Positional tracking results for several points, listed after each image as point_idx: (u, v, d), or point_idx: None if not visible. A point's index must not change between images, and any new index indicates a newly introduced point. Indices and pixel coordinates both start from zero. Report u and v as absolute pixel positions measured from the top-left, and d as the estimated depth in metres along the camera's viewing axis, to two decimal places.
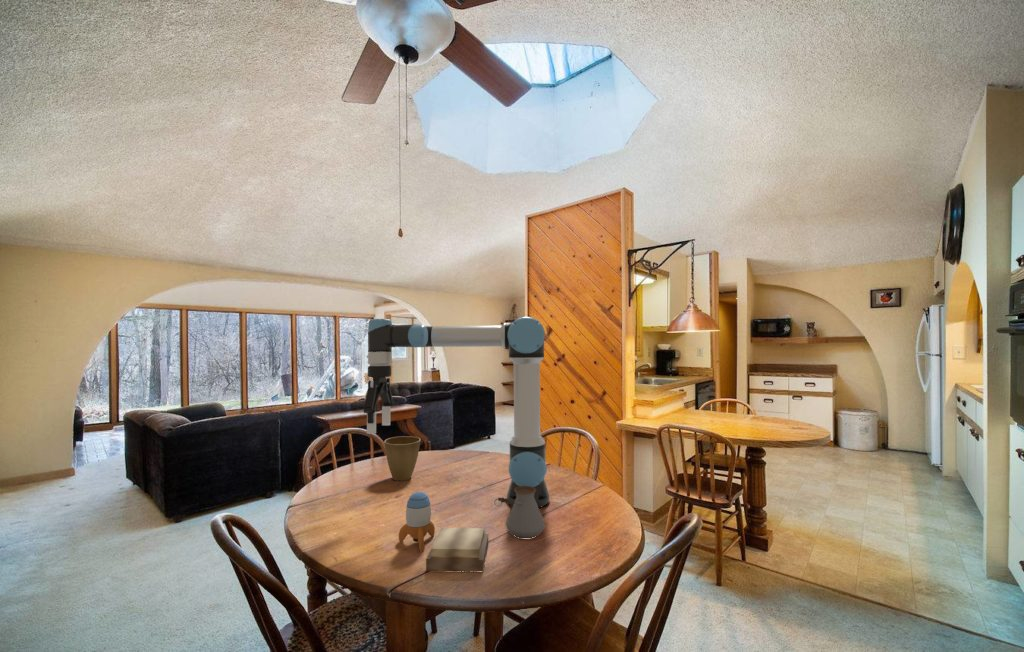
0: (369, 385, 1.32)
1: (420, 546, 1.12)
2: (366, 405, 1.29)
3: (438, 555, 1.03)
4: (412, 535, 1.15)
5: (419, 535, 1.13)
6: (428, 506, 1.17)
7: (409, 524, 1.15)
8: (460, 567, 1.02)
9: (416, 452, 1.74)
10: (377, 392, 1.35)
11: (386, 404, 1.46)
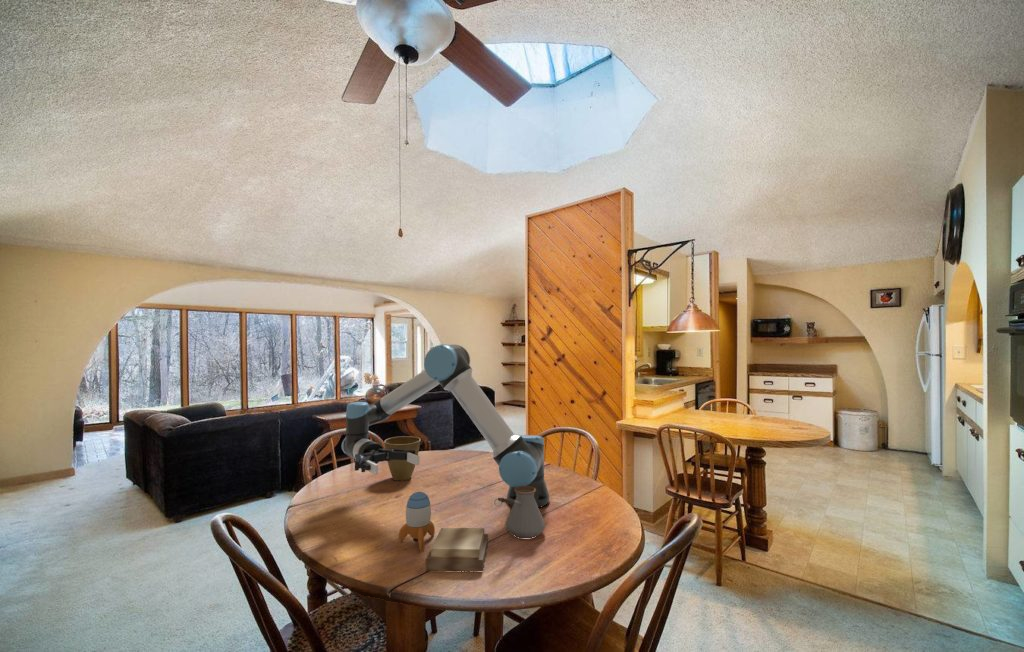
0: None
1: (420, 546, 1.12)
2: None
3: (438, 555, 1.03)
4: (412, 535, 1.15)
5: (419, 535, 1.13)
6: (428, 506, 1.17)
7: (409, 524, 1.15)
8: (460, 567, 1.02)
9: (416, 452, 1.74)
10: None
11: None
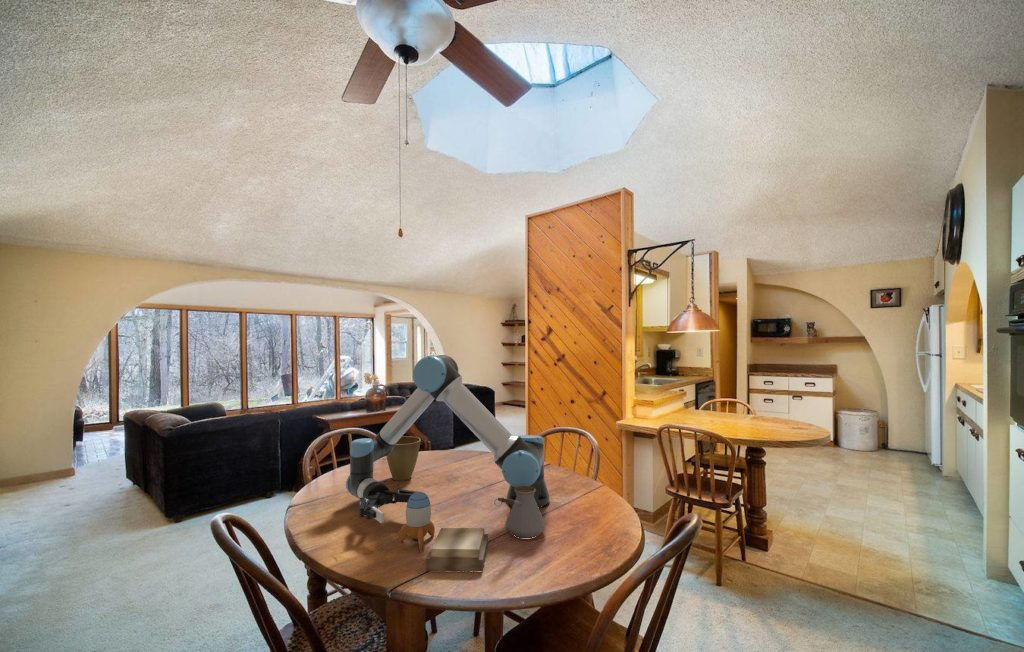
0: None
1: (420, 546, 1.12)
2: None
3: (438, 555, 1.03)
4: (412, 535, 1.15)
5: (419, 535, 1.13)
6: (428, 506, 1.17)
7: (409, 524, 1.15)
8: (460, 567, 1.02)
9: (416, 452, 1.74)
10: None
11: None
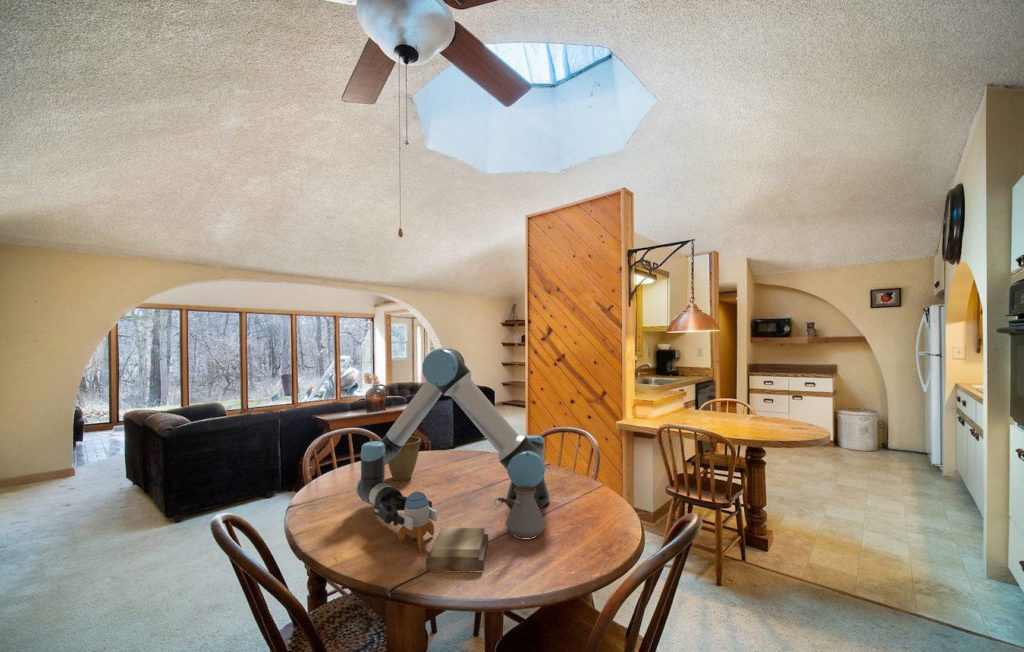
0: (376, 513, 1.21)
1: (419, 546, 1.12)
2: (385, 520, 1.16)
3: (438, 555, 1.03)
4: (411, 535, 1.15)
5: (418, 535, 1.13)
6: (426, 506, 1.16)
7: None
8: (460, 567, 1.02)
9: (416, 452, 1.74)
10: (391, 506, 1.22)
11: None
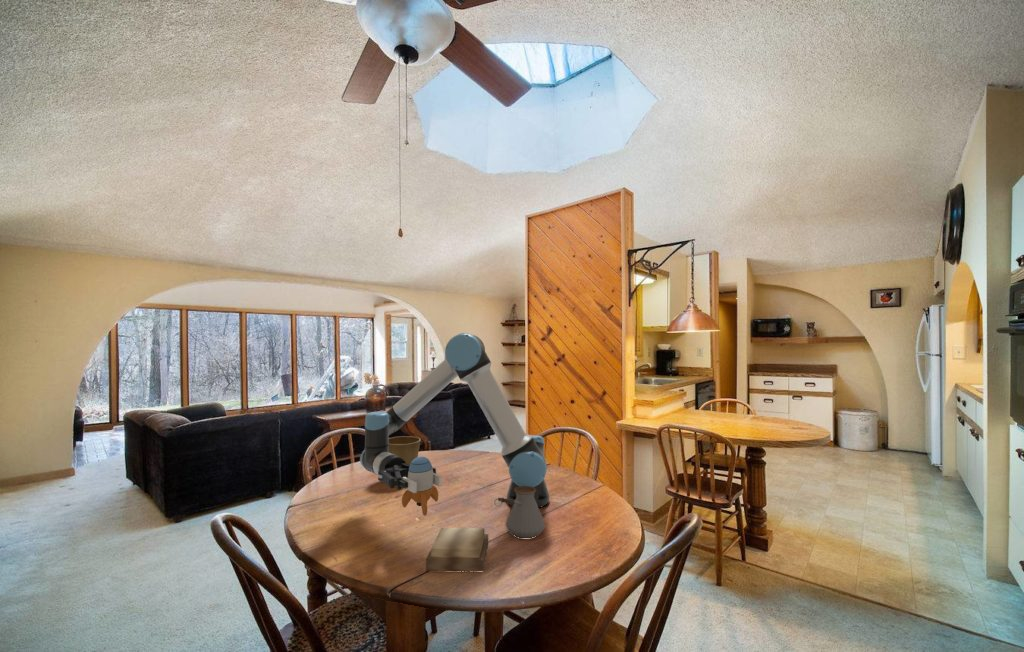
0: (380, 479, 1.20)
1: (423, 509, 1.11)
2: (388, 484, 1.15)
3: (438, 555, 1.03)
4: (415, 499, 1.14)
5: (422, 499, 1.12)
6: (430, 470, 1.15)
7: None
8: (460, 567, 1.02)
9: (416, 452, 1.74)
10: (394, 472, 1.21)
11: None
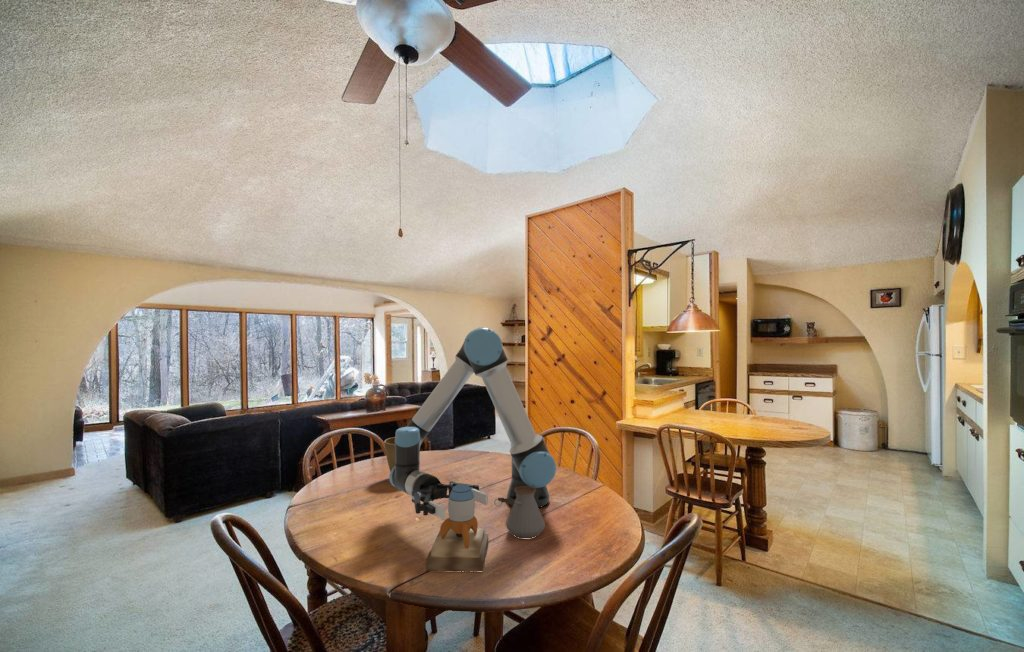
0: (413, 500, 1.14)
1: (465, 542, 1.03)
2: (415, 508, 1.08)
3: (438, 555, 1.03)
4: (455, 530, 1.07)
5: (464, 530, 1.04)
6: (472, 499, 1.08)
7: (452, 518, 1.06)
8: (460, 567, 1.02)
9: None
10: None
11: None
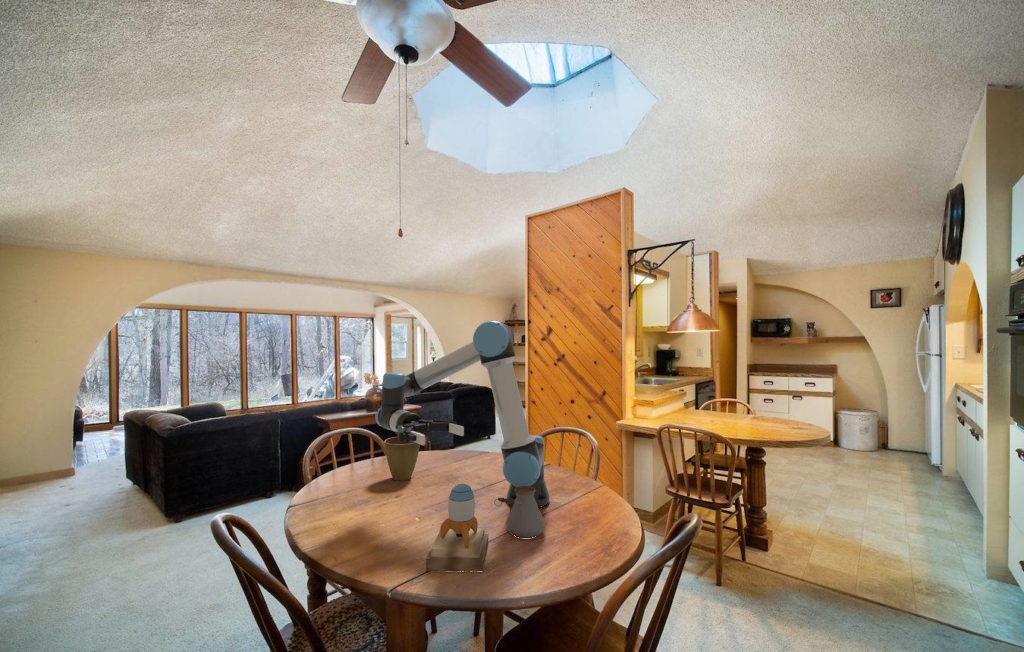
0: (396, 432, 1.27)
1: (465, 542, 1.03)
2: (398, 437, 1.21)
3: (438, 555, 1.03)
4: (455, 530, 1.07)
5: (464, 530, 1.04)
6: (472, 499, 1.08)
7: (452, 518, 1.06)
8: (460, 567, 1.02)
9: (416, 452, 1.74)
10: None
11: None
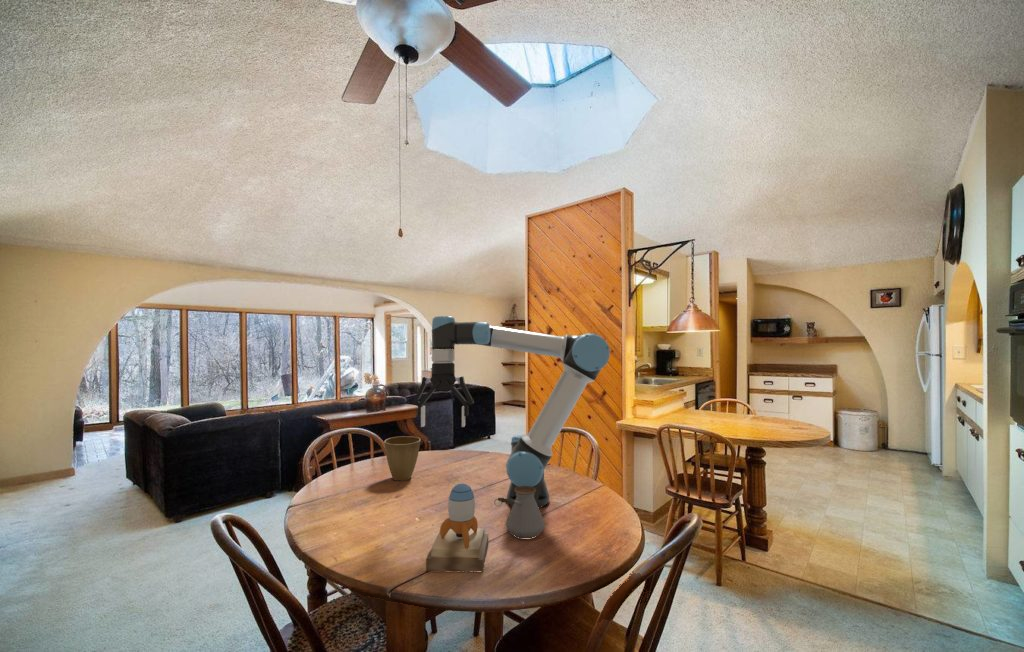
0: None
1: (465, 542, 1.03)
2: None
3: (438, 555, 1.03)
4: (455, 530, 1.07)
5: (464, 530, 1.04)
6: (472, 499, 1.08)
7: (452, 518, 1.06)
8: (460, 567, 1.02)
9: (416, 452, 1.74)
10: None
11: None
